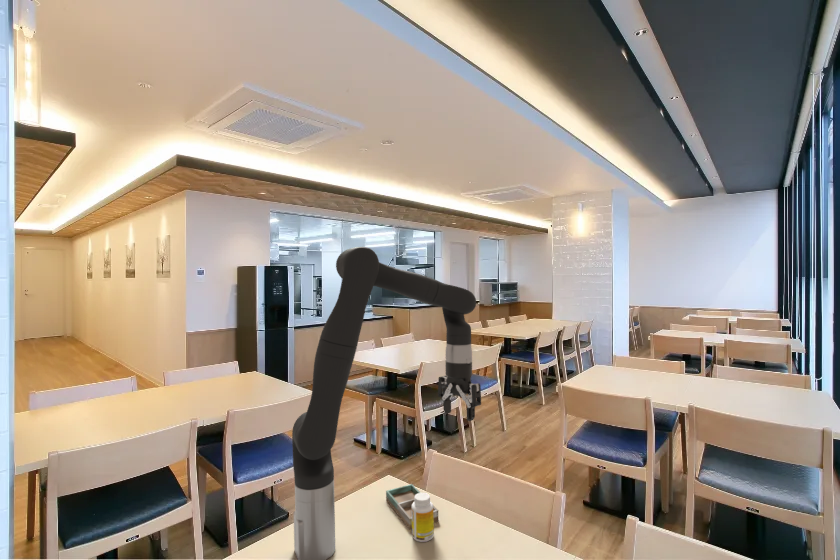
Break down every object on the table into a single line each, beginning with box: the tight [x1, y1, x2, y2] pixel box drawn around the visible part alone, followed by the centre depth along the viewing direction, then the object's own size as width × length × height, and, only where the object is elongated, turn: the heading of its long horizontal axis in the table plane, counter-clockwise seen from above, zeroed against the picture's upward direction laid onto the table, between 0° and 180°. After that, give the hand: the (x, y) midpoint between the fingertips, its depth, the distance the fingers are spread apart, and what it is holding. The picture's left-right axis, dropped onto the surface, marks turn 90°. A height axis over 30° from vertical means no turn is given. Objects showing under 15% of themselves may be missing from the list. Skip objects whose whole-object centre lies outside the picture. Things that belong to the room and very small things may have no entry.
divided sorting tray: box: [385, 483, 440, 531], centre depth 119 cm, size 8×16×3 cm, turn 27°
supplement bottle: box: [411, 492, 435, 543], centre depth 107 cm, size 6×6×10 cm
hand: (458, 416), depth 119 cm, fingers open, 8 cm apart
